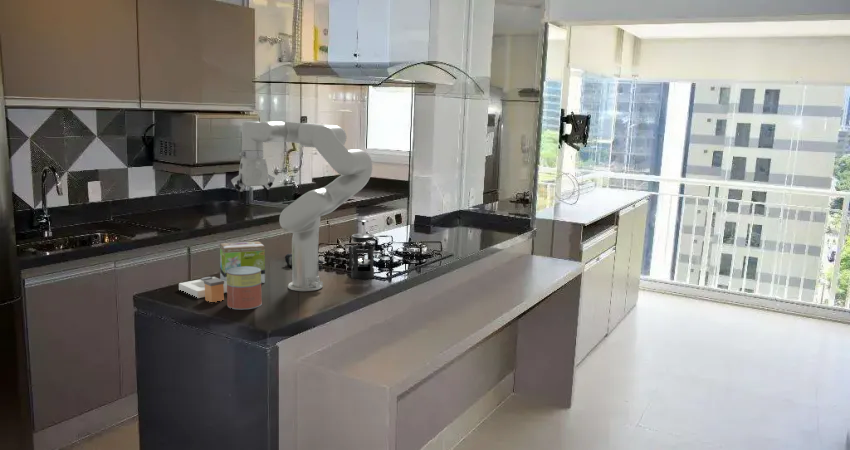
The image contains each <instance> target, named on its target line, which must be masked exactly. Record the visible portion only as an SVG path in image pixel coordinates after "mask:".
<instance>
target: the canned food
mask: <svg viewBox="0 0 850 450" xmlns="http://www.w3.org/2000/svg"><path fill="white" fill-rule="evenodd" d="M226 272H227V292H226V296H227V299H226V302H227V303H226V305H227V308H229V309H231V308H232V310H240V311H241V310H243V311H244V310H245V311H246V310H252V309H253V310H254V309H257V308H259V307H261V306H262V304H263V302H262V283H261V269H260V268H258V267H253V266H240V267H233V268H230V269H227V270H226Z"/></svg>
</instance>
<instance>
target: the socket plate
mask: <svg viewBox="0 0 850 450" xmlns="http://www.w3.org/2000/svg"><path fill="white" fill-rule="evenodd" d="M215 278H218V277H216V276H205V277H201V278H200V279H195V280H189V281H184V282H179V283H178V290H179V291H180V290H181V292H182V291H184V292H183V293H185V292H186V293H185V294H187V293H188V294H187V295H189V294H190V295H189V296H192V295H193V296H192V297H194V296H195V297H194V298H196V297H197V298H196V299H200V298H205V284H204V281H205V280H210V279H215ZM218 279H220V278H218ZM220 280H222V279H220ZM223 281H224V280H223ZM223 286H224V294H227V281H224V284H223Z"/></svg>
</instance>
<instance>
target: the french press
mask: <svg viewBox="0 0 850 450" xmlns="http://www.w3.org/2000/svg"><path fill="white" fill-rule="evenodd" d="M357 222H359V223H361V225H362V233H361V232H360V233H354V234H352V235H351V238H352V242H354V243H360V245H351V246H349V247H348V267H349V268H350V269H351V275H350V278H351V279H353V280H358V281H359V280H360V281H363V280H364V281H365V280H372V279H374V278H375V277H374V275H375V268H374V261H375V260H374V252H375V246H372V245H367V244H364V243H365V242H368V241H369V240H370V241H374V238H375V235H374V234H373V233H365V232H364V231H365V229H364V227H365V223H369V220H368V219H359V220H357ZM359 254H367V258H364V257H362V258H359ZM373 277H374V278H373Z"/></svg>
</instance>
